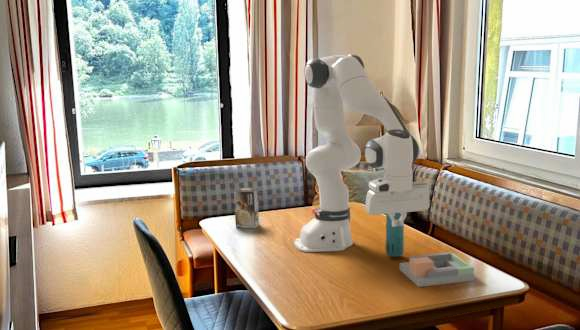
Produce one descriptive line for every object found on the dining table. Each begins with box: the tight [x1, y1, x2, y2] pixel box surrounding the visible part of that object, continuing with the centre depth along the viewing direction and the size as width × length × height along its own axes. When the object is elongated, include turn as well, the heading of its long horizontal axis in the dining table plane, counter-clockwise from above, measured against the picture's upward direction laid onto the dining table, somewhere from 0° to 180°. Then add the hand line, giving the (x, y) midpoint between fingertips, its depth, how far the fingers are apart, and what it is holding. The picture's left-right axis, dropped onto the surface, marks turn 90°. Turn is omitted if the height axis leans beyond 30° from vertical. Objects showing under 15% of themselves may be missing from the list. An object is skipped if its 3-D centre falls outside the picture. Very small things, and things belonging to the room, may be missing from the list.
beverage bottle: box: [385, 213, 405, 257], centre depth 210 cm, size 6×7×20 cm
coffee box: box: [233, 187, 260, 229], centre depth 251 cm, size 9×6×16 cm
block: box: [409, 257, 434, 277], centre depth 190 cm, size 6×5×4 cm
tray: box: [399, 252, 475, 288], centre depth 194 cm, size 19×15×4 cm
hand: (397, 225), depth 185 cm, fingers closed
